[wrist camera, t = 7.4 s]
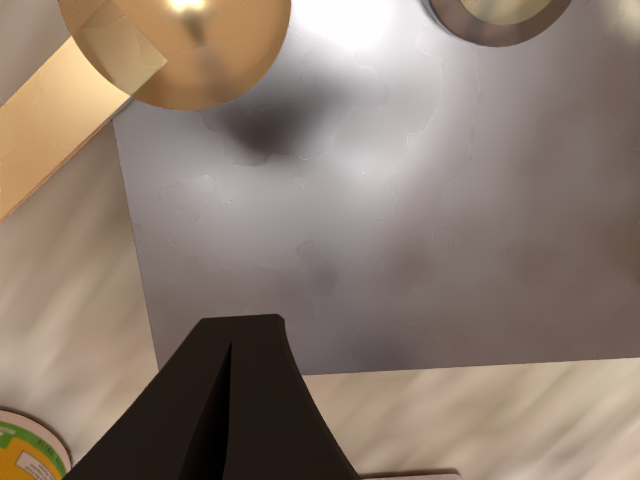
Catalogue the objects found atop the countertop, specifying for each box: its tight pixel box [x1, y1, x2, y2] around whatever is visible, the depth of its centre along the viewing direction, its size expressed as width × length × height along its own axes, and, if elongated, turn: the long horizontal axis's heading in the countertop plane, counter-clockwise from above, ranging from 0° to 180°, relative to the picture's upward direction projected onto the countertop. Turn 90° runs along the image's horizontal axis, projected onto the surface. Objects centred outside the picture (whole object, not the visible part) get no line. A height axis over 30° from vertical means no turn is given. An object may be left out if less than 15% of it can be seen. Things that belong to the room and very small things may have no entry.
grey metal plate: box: [112, 0, 640, 375], centre depth 15 cm, size 14×19×3 cm
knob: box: [0, 0, 292, 224], centre depth 12 cm, size 11×4×3 cm, turn 128°
